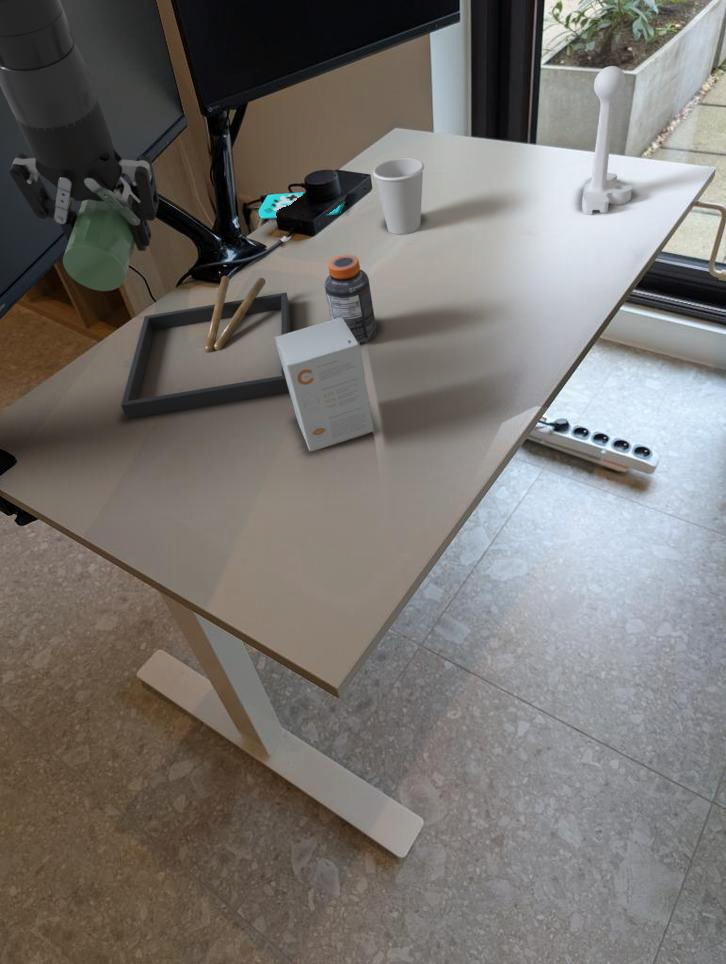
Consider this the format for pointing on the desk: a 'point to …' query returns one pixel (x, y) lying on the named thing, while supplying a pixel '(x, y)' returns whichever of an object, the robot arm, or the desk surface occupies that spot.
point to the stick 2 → (239, 314)
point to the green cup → (99, 247)
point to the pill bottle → (351, 297)
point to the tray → (207, 395)
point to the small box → (326, 383)
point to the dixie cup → (400, 193)
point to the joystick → (605, 148)
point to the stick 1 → (217, 314)
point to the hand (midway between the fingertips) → (112, 244)
